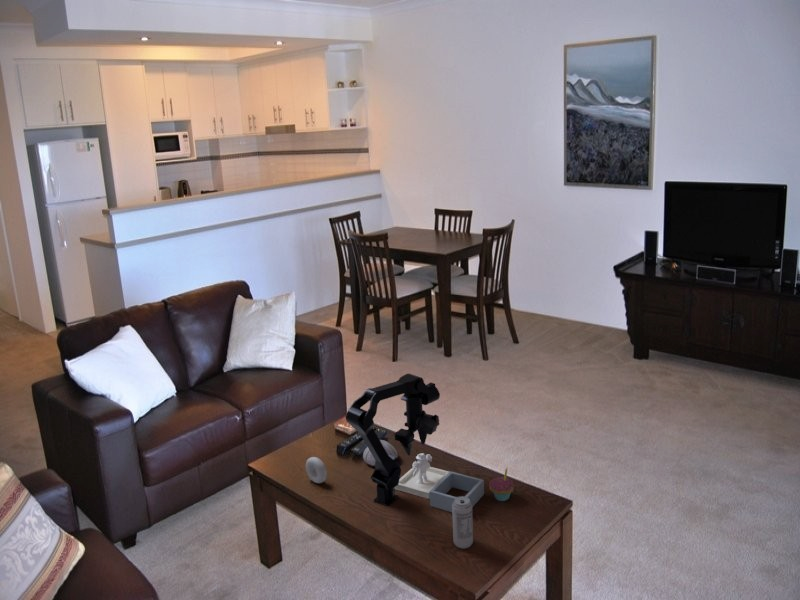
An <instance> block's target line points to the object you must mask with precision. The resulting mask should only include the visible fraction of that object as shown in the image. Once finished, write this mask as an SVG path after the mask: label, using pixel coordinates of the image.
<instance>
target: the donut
mask: <svg viewBox="0 0 800 600" xmlns="http://www.w3.org/2000/svg"><path fill="white" fill-rule="evenodd" d="M305 473H306V474H307V476H308V478H309V479H310V480H311V481H312V482H314V483H315V484H322V483H324V482H325V481H326V479H327V475H328V471H327V468H326V465H325V463H324V462H323V460H321V459H320V458H319V457H316V456H311V457H309V458H308V459H307V460H306V463H305Z"/></svg>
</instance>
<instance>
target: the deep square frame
mask: <svg viewBox="0 0 800 600" xmlns="http://www.w3.org/2000/svg"><path fill="white" fill-rule="evenodd" d="M452 488H454V489H458V490H461V491H464V492H468V493H466V495H465V496H464V497H467V498H469V499H470V502H471V504H472V508H473V507H474V506H476V504H477V503H478V502H479V501H480V500H481V498H482V497H483V496H484V495H485V479H481V478H478V477H474V476H470V475H466V474H464V473H463V474H462V473H459V472H455V471H451V470H450V471H449V473H448V474H447V475H446V476H445V477H444V478H443V479H442V480H441V481H440V482H439V483H438V484H437V485H436V486H435V487H434V488H432V489H431V490H430V491H429V493H430V498H429V506H430V507H433V508H437V509H440V510H443V511H445V512H450V513H452V504H453V502H454V499H455V498H456V497H457V496H453V495H451V494H447V493H449V491H450V490H451V489H452Z"/></svg>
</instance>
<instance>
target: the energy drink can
mask: <svg viewBox="0 0 800 600" xmlns="http://www.w3.org/2000/svg"><path fill="white" fill-rule="evenodd" d="M455 497H456V498H455V499H454V502H453V504H452V512H451V514H452V533H453V534H452V536H453V538H452V539H453V540H452V541H453V544H454V545H455V546H456V547H457V548H458V549H463V550H465V549H469V548H470V547H471V546H472V545H473V543H474V526H473V524H474V523H473V522H474V521H473V507H472V504H471V502H470V499H469V498H467V497H465V496H463V495H460V496H455Z"/></svg>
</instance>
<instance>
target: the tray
mask: <svg viewBox="0 0 800 600" xmlns="http://www.w3.org/2000/svg"><path fill="white" fill-rule="evenodd" d="M413 468H415V467H412V468H410V469H409V470H408V471H406V473H405V474H403V475H402V476H400V479H399V484H398V485H397V486H395V491H400V492H404V493H407V494H410V495H414V496H417V497H420V498H423V499H427V500H430V493H429V491H430V490H431V489H432V488H434V487H435V486H436V485H437V484H438V483H439V482H440V481H441V480H442V479H443V478H444V477H445V476H446V475H447V474H448V473H449V472H450V471H448V470H444V469H441V468H436V467H433V466H430V469H429V468H428V469H427V471H426V476H427V479H428V481H426V482H424V483H423V484H418V483H417V481H418V480H419V479H418V474H419V470H418V472H417V474H416V475H415V477H414V476H413V473H414V471H415V469H416V468H415V469H413ZM422 477H423V476H422Z"/></svg>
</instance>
